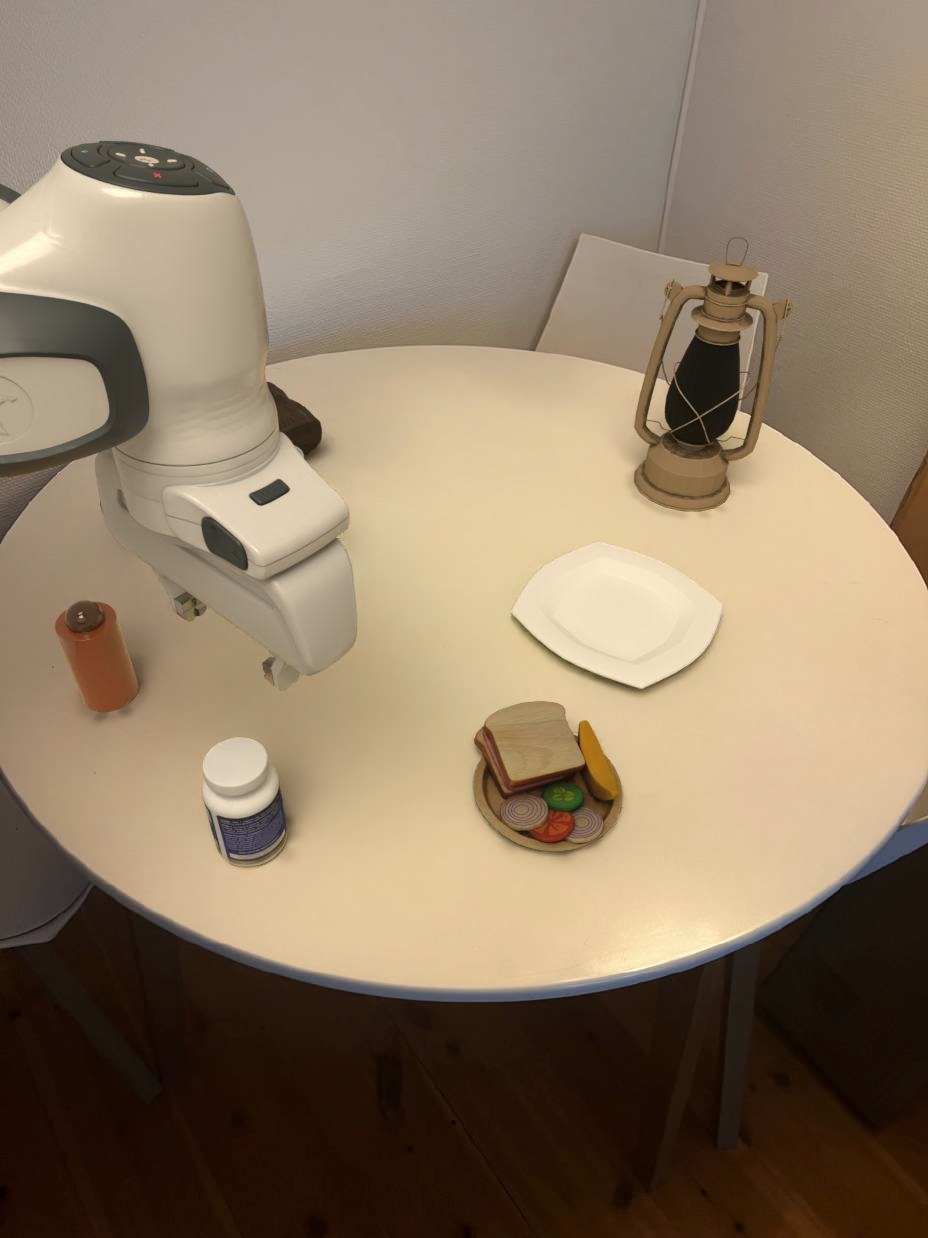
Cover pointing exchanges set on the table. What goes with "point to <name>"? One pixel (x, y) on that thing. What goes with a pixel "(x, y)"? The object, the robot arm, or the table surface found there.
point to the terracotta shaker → (97, 655)
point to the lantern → (705, 390)
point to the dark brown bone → (295, 421)
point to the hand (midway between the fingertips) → (235, 645)
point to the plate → (618, 614)
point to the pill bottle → (244, 802)
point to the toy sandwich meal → (544, 778)
